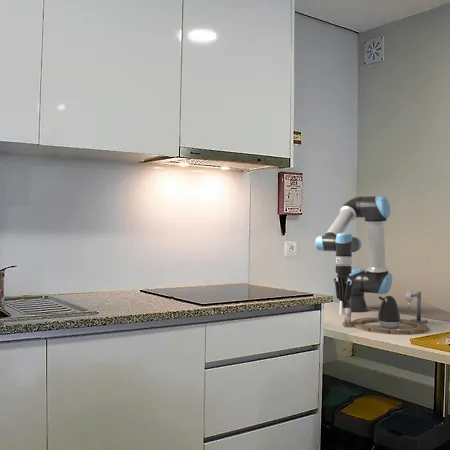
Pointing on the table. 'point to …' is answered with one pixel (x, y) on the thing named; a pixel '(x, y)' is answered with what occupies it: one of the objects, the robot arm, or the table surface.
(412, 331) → the turntable ring
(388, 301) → the pump dispenser
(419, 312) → the dial indicator stand
